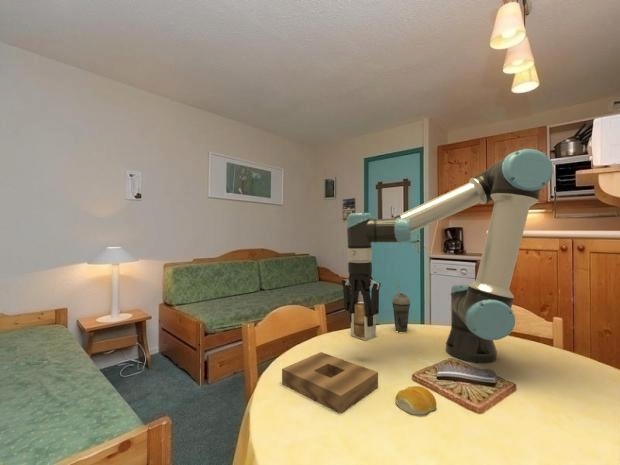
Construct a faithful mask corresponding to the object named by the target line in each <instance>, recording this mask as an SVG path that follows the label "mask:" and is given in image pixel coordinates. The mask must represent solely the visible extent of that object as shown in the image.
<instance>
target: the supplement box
mask: <svg viewBox="0 0 620 465" xmlns="http://www.w3.org/2000/svg"><path fill="white" fill-rule="evenodd" d="M358 303H364V301H360V302H358ZM375 336H377V314H376V315H373V326H371V336H369V337H367V338H359V337H356V336H355V334H352V323H350V337H353V338H357V339H359V340H363V341H368V340H370V338H371V339H374V338H375ZM367 339H368V340H367Z"/></svg>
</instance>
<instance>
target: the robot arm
mask: <svg viewBox="0 0 620 465" xmlns="http://www.w3.org/2000/svg"><path fill="white" fill-rule="evenodd" d="M553 174H554V166H553V163H552V160H551V159H550V158H549V157H548V156H547V155H546V154H545V153H544V152H542V151H540V150H537V149H533V148H524V149H523V148H522V149H519V150H516V151H514V152H510V154H508V155H507V156H506V157H504V158H502V159H500V160H499V161H497V162H495V163H494V164H493V165H491V166H490V167H488V168H487V169H485V170H484V171H482V172H481V173H479V174H477V175H475V176H473V177H471V178H470V179H469V180H468V182H467V183H465V184H463V185H461V186H458V187H456V188H454V189H453V190H450V191H448V192H445V193H443V194H441V195H439V196H437V197H435V198H432V199H430V200H428V201H425V202H424V203H422V204H419V205H418V206H415V207H413V208H411V209H409V210H406V211H405V212H402V213H400V214H398V215H395V216H393V217H391V218H372V215H371V213H369V212H353V213H349V214H348V215H347V223H346V224H347V225H346V226H347V227H346V230H347V231H346V233H347V234H346V235H347V236H346V237H347V260H348V261H349V262H348V263H347V267H348V268H347V269H348V270H347V272H348V274H349V275H348V278H347V279H343V280H341V285H342V288H343V292H342V293H343V308H344V310H345V311H347V312H349V322H350V324H351V323H352V334H355V304H356V303H359V302H358V300H359V294H361V295H362V300H363V302H364V306H365V311H366V315H365V316H364V333H365V337H366V338H367V337H369V336H371V326H373V315H376V316H377V315H378V314H379V310H380V308H379V307H380V303H379V302H380V289H381V284H382V283H381V282H377V281H375V280H374V279H373V277H372V274H373V263H372V262H371V261H372V259H373V256H372V254H373V252H372V250H373V249H372V244H373V243H376V244H377V243H399V244H401V243H409V242H410V241H411V238H412V233H414V232H416V231H419V230H420V229H424V228H425V227H428V226H429V225H432V224H434V223H437V222H439V221H441V220H443V219H446V218H448V217H451V216H453V215H455V214H457V213H460V212H462V211H464V210H466V209H468V208H472V207H473V206H475V205H477V204H481V205H485V204H488V203H490V202H492V201H493V203H494V204H493V208H492V211H491V212H492V213H491V217H490V221H489V223H488V229H487V232H486V238H485V242H484V245H483V249H482V254H481V257H480V261H479V265H478V270H477V274H476V279H475V281H473V282H471V283H470V284H454V285H452V286H451V291H450V296H451V297H450V299H451V300H450V303H451V305H450V306H451V307H450V308H451V309H450V310H451V311H450V312H451V314H450V316H451V317H450V322H451V327H450V331H449V334H448V336H447V339H446V342H445V352H447V353H448V354H449V355H450V356H452V357H453V358H456V359H460V360H463V361H466V362H472V363H473V362H474V363H492V362H494V361H497V358H498V356H497V354H498V353H497V348H496V345H495V342H494V341H499V340H501V339H503V338H506V337H508V336H509V335H510V334H511V333H512V331H514V328H515V325H516V316H515V314H514V311H513V309H512V307H513V304H514V303H513V302H514V299H515V296H514V294H513V293H512V292H511V290H510V287H511V283H512V279H513V275H514V271H515V267H516V263H517V259H518V256H519V252H520V247H521V243H522V240H523V236H524V231H525V227H526V224H527V219H528V214H529V211H530V208H531V207H532V206H533V205H535V204H538V202H539V198H540V195H541V190H542V188H544V187H545V186H547V185H548V183H549V182H550V181H551V180H552V177H553Z"/></svg>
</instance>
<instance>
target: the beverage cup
mask: <svg viewBox="0 0 620 465" xmlns="http://www.w3.org/2000/svg"><path fill="white" fill-rule="evenodd" d="M397 289H398V291H397V292H398V293H397V294H395V295H394V297H393V299H392V302H391V304H392V309H393V318H394V319H393V320H394V328H395V332H396V331H398V332H397V333H399V332H406V331H407V332H408V326H409V325H408V324H409V314H410V308H411V300H410V298H409V297H408V295H407V294H404V293H401V291H400V283H399V282H397ZM407 332H406V333H407Z"/></svg>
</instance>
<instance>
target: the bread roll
mask: <svg viewBox="0 0 620 465" xmlns="http://www.w3.org/2000/svg"><path fill="white" fill-rule="evenodd" d="M436 400H437V399H436V397H435V396H434V394H433V393H432V392H431V391H430V390H429V389H428V388H425V387H423V386H420V385H415V386H408V387H405V388H404V389H401V390H398V392H397V393H396V395H395V403H396V405H397V406H398V407H399V408H400V409H401V410H402V411H404V412H406V413H408V414H410V415H415V416H416V415H417V416H423V415H426V414H427V413H429V412H432V411H434V410H435V409H436V408H437V401H436Z"/></svg>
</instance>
